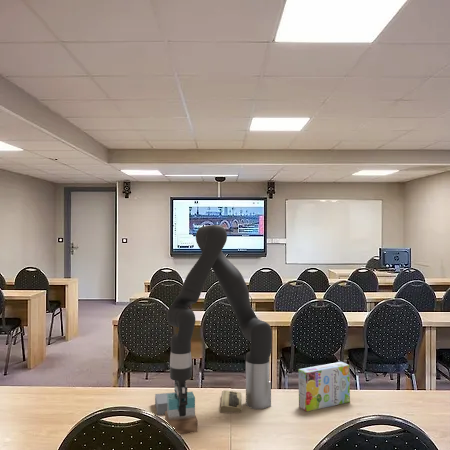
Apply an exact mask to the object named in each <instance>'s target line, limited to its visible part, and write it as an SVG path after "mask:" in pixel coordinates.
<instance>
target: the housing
mask: <svg viewBox="0 0 450 450" xmlns="http://www.w3.org/2000/svg"><path fill="white" fill-rule="evenodd" d="M171 393H172V394H167V415H168V419H169V420H178V419H187V418H195V415H196V397H195V396H196V395H194V392H193V391H187V402H188V404H187V405H186V415H185V416H179V399H177V393H173V392H171ZM183 401H184V398H182V402H183Z"/></svg>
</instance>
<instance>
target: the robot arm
mask: <svg viewBox="0 0 450 450" xmlns="http://www.w3.org/2000/svg"><path fill="white" fill-rule="evenodd" d="M227 240H228V233H227V231H226V228H225V227H223V226H222V225H220V224H211V225H205V226H202V227H199V228H198V229H197V231H196V232H195V241H196V244H197V246H198V248H199V249H200V251H201V255H200V256H199V258H198V260H197V261H196V262H195V264H194V265H193V267H191V269H190V270H189V272H188V273H187V275H186V276H185V280H184V281H183V284H182V286H181V288H180V292H179V293H178V295H177V296H176V297H175V299H174V301H173V302H172V304H170V307H168V310H167V313H166V321H167V323H168V324H169V325H170V326H172V327H175V328H178V332H177V333H175V334H173V335H171V339H170V356H169V378H170V379H171V381H174V384H173V385H174V388H173V389H174V392H175V393H177V399H179V416H185V415H186V405H187V404H188V402H187V392H188V384H187V382H186V381H189V380H190V379H192V372H193V371H192V369H193V368H192V364H193V363H192V361H193V360H192V337H193V335H194V329H195V326H196V314H195V313H194V310H192V309H191V308H189V306H190V305H194V304H196V303H197V302H198V301H199V300H200V299H199V298H200V297H201V294H202V291H203V288H204V285H206V281H207V279H208V277H209V275H210V272H211V270H212V271H213V274H214V276H215V278H216V280H217V282H218V283H219V285H220V288H221V290H222V292H223V294H224V296H225V298H226V299H227V301H228V302H229V305H230V306H231V309H232V311H233V312H234V314H235V316H236V319H237V322H238V324H239V327H240V329H241V333H242V336H243V337H244V338H245V339H246V340H247V341H249V342H250V351H247V352H246V354H245V406H247V408H250V409H254V410H263V409H267V408H268V407H271V406H272V381H271V380H270V357H271V354H272V348H273V347H272V345H273V344H272V343H273V331H272V327H271V325H270V324H269V323H268V322H266V321H264V320H262V319H259V318H258V316H257V315H256V313H255V311H254V310H253V307H252V305H251V301H250V300H251V299H250V291H249V287H248V285H247V283H246V281H245V278H244V276H243V274H242V273H241V271H239V269H238V268H237V267H236V266H235V265H234V264H233V263H232V262H231V261H230V260H229V259H228V258H227V257H226V256H225V254H224V252H223V251H222V250H223V249H224V246H225V245H226V243H227ZM182 398H184V401H183V402H182Z"/></svg>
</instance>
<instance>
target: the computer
mask: <svg viewBox="0 0 450 450" xmlns="http://www.w3.org/2000/svg"><path fill="white" fill-rule="evenodd" d="M220 401H221V402H220V411H219V412H220V413H221V414H222V413H223V414H225V413H227V414H229V413H230V414H234V413H235V414H240V413H242V410H243V409H242V393H241V391H233V390H222V391H221V399H220Z"/></svg>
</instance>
